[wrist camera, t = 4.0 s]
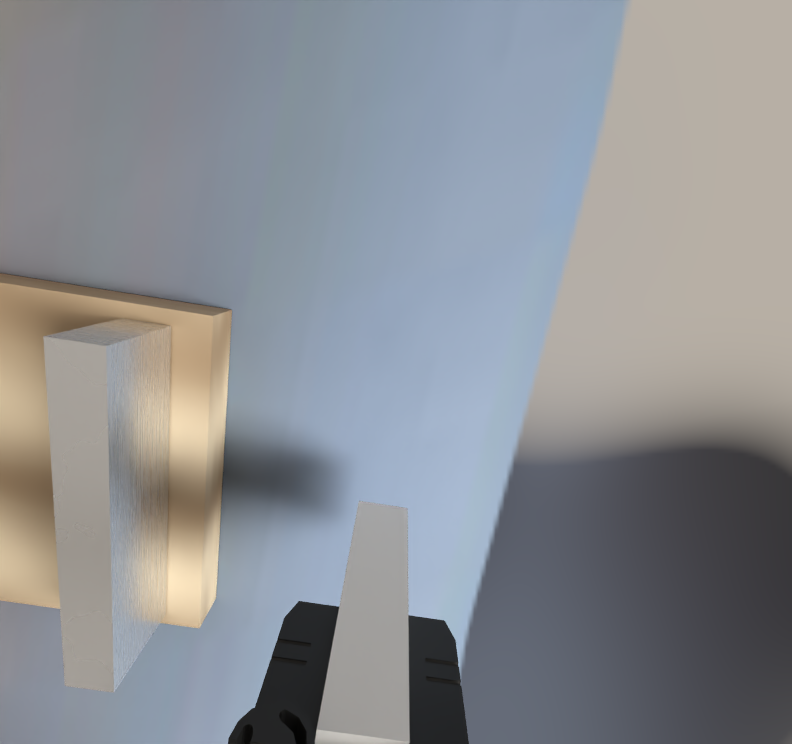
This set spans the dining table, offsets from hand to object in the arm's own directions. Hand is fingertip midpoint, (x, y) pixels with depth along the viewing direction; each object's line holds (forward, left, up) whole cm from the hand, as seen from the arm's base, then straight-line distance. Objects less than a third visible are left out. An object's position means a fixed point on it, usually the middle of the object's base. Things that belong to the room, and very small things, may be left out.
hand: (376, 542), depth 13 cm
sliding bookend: (0, +8, -2) cm, 8 cm away
